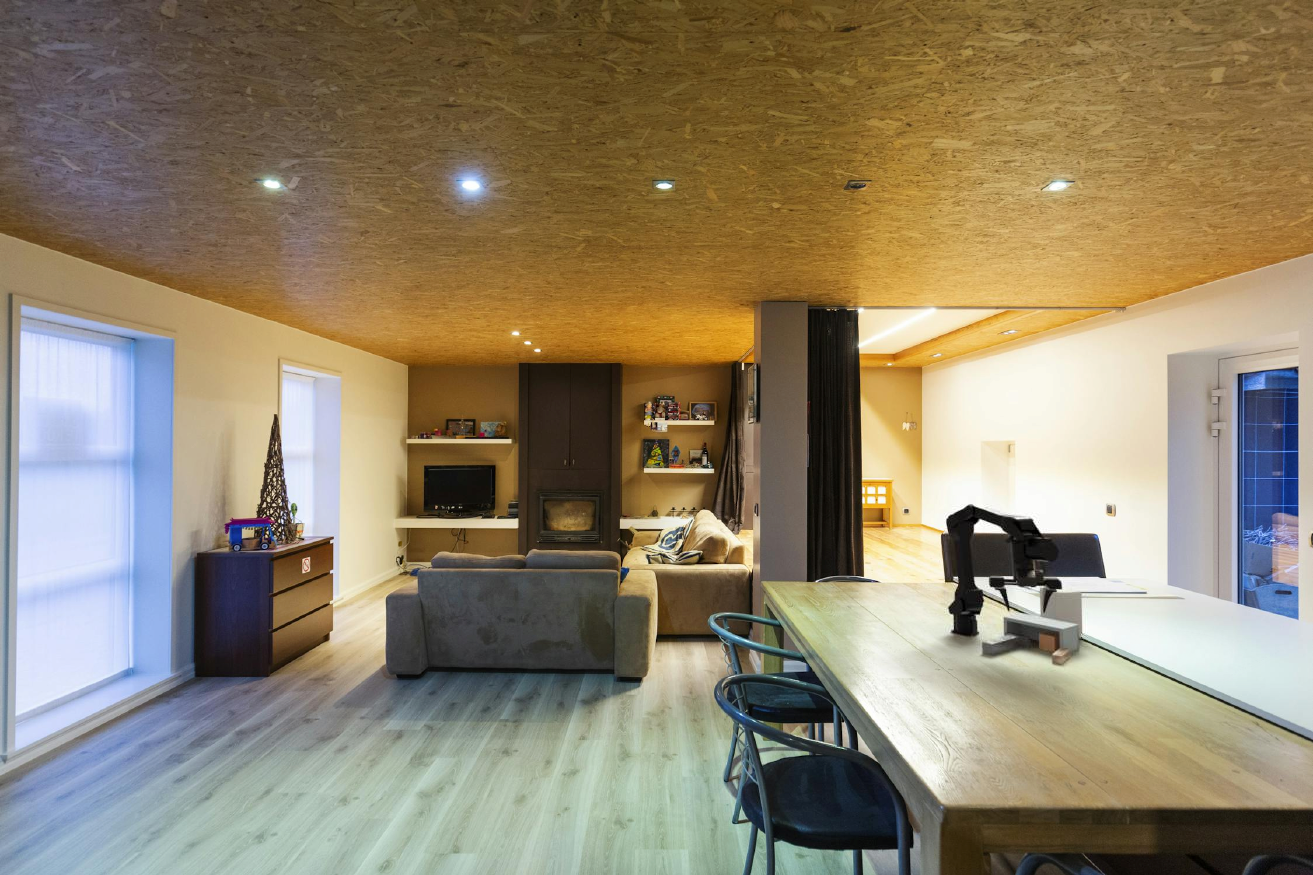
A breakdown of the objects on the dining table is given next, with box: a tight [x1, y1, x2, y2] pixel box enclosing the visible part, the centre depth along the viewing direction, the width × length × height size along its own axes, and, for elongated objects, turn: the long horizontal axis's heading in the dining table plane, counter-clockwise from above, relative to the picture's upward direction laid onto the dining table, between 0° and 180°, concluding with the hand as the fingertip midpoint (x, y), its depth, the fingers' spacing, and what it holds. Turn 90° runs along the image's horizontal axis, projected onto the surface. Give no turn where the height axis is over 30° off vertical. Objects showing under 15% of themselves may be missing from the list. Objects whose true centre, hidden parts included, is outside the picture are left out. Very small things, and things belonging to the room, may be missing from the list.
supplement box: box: [1039, 586, 1083, 639], centre depth 217 cm, size 9×9×15 cm
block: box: [1038, 632, 1060, 653], centre depth 202 cm, size 4×4×4 cm
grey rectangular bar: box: [981, 632, 1031, 657], centre depth 201 cm, size 18×7×4 cm, turn 123°
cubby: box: [1003, 612, 1080, 653], centre depth 206 cm, size 18×10×8 cm, turn 33°
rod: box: [1051, 647, 1072, 665], centre depth 191 cm, size 2×10×2 cm, turn 136°
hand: (1026, 611), depth 196 cm, fingers open, 9 cm apart
